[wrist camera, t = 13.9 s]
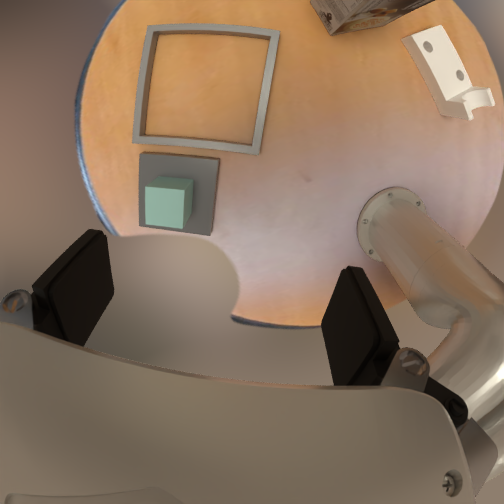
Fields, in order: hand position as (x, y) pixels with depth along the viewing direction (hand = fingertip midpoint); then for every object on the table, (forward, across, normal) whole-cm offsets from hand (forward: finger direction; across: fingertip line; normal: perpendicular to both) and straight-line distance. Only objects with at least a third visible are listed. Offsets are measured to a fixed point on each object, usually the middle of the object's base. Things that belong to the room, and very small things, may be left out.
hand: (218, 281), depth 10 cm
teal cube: (+27, +9, +6) cm, 29 cm away
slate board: (+28, +9, +6) cm, 30 cm away
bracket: (+29, -25, -21) cm, 44 cm away
